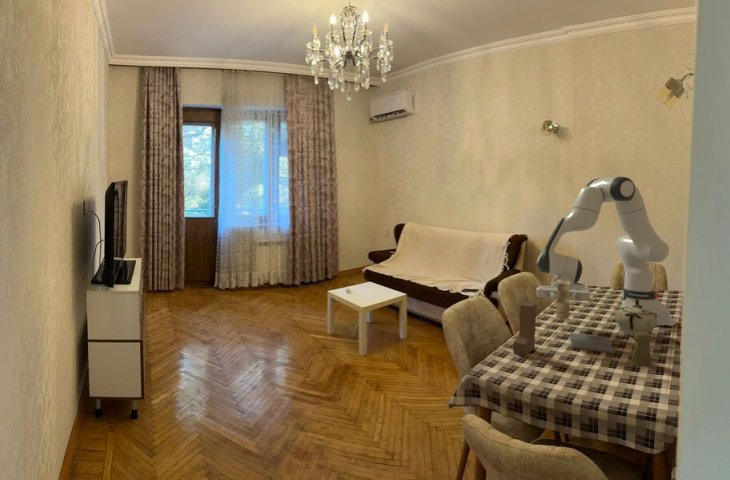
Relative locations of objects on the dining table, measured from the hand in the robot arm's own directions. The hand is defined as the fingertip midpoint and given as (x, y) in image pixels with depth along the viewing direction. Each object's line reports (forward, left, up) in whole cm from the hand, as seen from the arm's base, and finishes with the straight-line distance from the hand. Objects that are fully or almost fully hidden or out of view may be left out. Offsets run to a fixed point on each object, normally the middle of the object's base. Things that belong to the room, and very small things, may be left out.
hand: (563, 297), depth 172 cm
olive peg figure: (-26, +13, -18) cm, 34 cm away
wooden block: (+13, +18, -18) cm, 28 cm away
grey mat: (-11, -1, -18) cm, 21 cm away
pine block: (0, 0, -8) cm, 8 cm away
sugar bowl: (-29, -20, -18) cm, 40 cm away
